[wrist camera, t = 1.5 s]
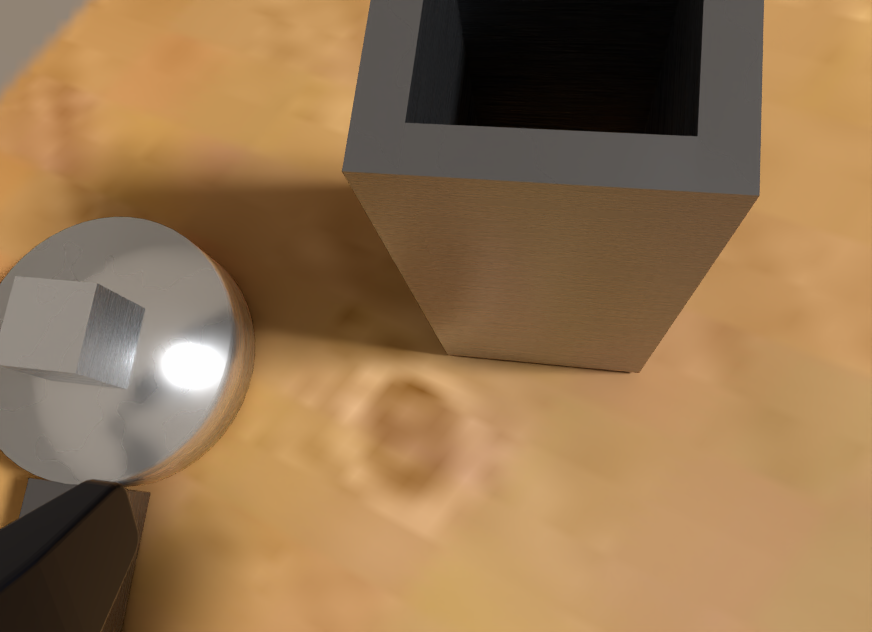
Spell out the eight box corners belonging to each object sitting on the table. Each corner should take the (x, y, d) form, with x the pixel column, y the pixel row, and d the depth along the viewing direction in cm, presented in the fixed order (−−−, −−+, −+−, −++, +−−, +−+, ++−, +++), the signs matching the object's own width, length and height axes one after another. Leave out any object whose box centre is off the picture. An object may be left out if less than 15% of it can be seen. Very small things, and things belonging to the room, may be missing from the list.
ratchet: (51, 231, 26) (-48, 173, 21) (275, 248, 24) (218, 190, 20) (-117, 870, 21) (-288, 962, 17) (148, 933, 20) (38, 1050, 15)
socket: (638, 372, 22) (759, 195, 10) (447, 354, 23) (342, 171, 11) (649, 193, 23) (767, -157, 11) (468, 182, 24) (396, -152, 12)
